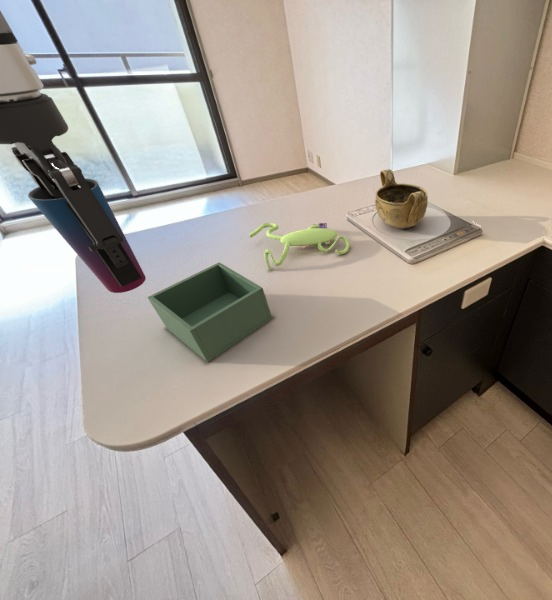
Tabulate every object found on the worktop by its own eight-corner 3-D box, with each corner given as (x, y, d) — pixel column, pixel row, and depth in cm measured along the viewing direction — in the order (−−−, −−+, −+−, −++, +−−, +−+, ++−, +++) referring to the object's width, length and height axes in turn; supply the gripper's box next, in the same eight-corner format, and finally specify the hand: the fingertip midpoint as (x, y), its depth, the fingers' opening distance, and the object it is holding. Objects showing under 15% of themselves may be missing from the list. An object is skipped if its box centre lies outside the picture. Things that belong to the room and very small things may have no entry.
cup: (161, 279, 51) (107, 186, 41) (114, 303, 47) (41, 205, 37) (138, 265, 54) (82, 174, 44) (91, 286, 50) (18, 190, 40)
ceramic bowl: (363, 215, 114) (361, 172, 104) (405, 206, 120) (407, 164, 111) (394, 245, 99) (395, 198, 90) (440, 233, 106) (445, 188, 96)
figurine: (251, 240, 99) (246, 223, 95) (337, 225, 108) (335, 209, 104) (257, 273, 86) (252, 256, 83) (353, 254, 95) (352, 237, 91)
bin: (207, 362, 64) (189, 331, 58) (166, 328, 71) (147, 297, 65) (272, 318, 74) (262, 287, 68) (231, 292, 80) (219, 262, 75)
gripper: (81, 103, 32) (178, 284, 48) (18, 81, 40) (119, 242, 55) (-24, 115, 28) (122, 312, 43) (-72, 88, 36) (66, 262, 51)
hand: (120, 273), depth 49 cm, fingers closed on cup, 6 cm apart
